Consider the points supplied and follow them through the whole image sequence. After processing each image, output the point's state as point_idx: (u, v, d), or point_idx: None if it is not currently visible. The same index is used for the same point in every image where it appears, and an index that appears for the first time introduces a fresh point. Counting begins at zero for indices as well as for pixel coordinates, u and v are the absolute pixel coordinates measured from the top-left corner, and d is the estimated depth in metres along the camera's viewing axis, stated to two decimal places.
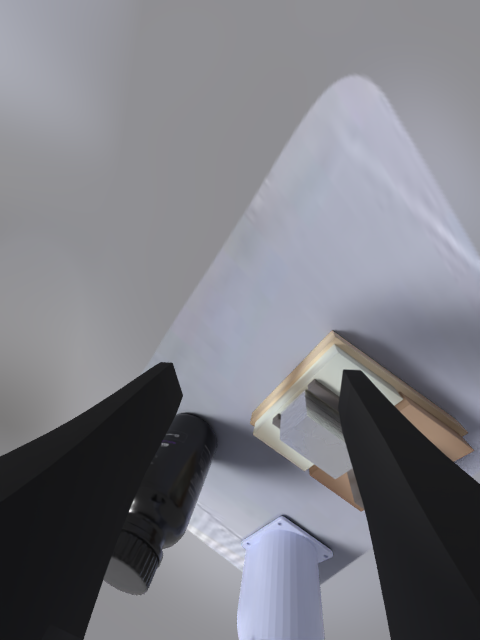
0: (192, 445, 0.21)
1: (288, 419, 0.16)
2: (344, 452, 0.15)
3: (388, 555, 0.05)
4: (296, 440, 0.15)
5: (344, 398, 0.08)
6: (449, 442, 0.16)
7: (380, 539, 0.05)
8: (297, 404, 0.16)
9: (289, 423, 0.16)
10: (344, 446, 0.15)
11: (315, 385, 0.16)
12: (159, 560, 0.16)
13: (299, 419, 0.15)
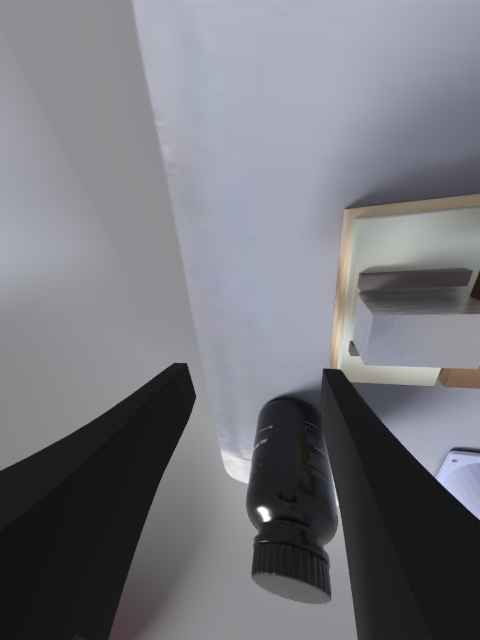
0: (290, 427, 0.19)
1: (360, 337, 0.12)
2: (462, 327, 0.10)
3: (354, 548, 0.05)
4: (385, 353, 0.11)
5: (324, 397, 0.08)
6: None
7: (349, 533, 0.05)
8: (359, 314, 0.12)
9: (363, 340, 0.12)
10: (455, 319, 0.10)
11: (364, 278, 0.12)
12: (324, 559, 0.13)
13: (369, 326, 0.11)
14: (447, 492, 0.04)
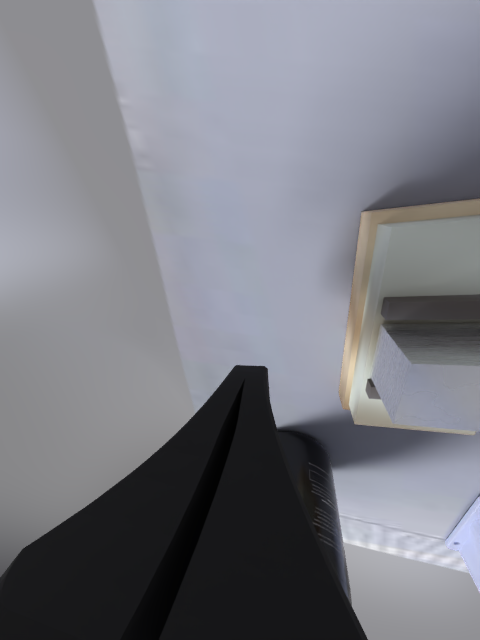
0: None
1: (386, 383, 0.09)
2: None
3: None
4: (423, 411, 0.08)
5: None
6: None
7: None
8: (384, 352, 0.09)
9: (391, 389, 0.09)
10: None
11: (392, 305, 0.09)
12: None
13: (403, 376, 0.08)
14: (285, 469, 0.04)
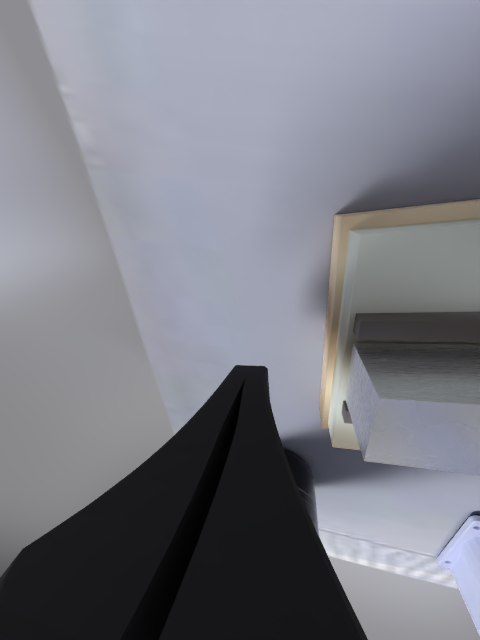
0: None
1: (357, 411, 0.08)
2: None
3: None
4: (397, 449, 0.07)
5: None
6: None
7: None
8: (356, 376, 0.08)
9: (362, 421, 0.07)
10: None
11: (364, 324, 0.08)
12: None
13: (372, 410, 0.07)
14: (285, 469, 0.04)
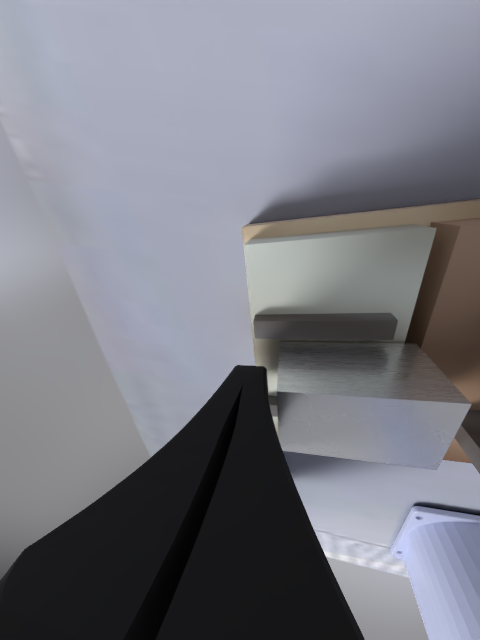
0: None
1: None
2: (408, 416, 0.06)
3: None
4: (303, 439, 0.07)
5: None
6: None
7: None
8: None
9: None
10: (396, 406, 0.06)
11: (257, 324, 0.09)
12: None
13: (277, 402, 0.07)
14: (283, 469, 0.04)
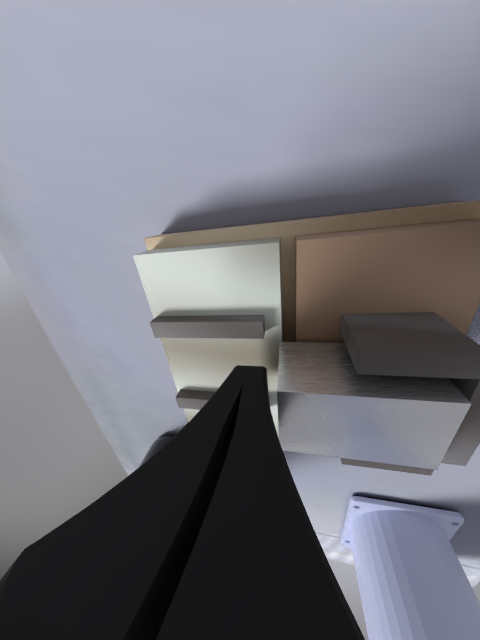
0: None
1: None
2: (408, 416, 0.06)
3: None
4: (303, 439, 0.07)
5: None
6: (440, 248, 0.07)
7: None
8: None
9: None
10: (396, 405, 0.06)
11: (154, 325, 0.10)
12: None
13: (277, 402, 0.07)
14: (284, 469, 0.04)
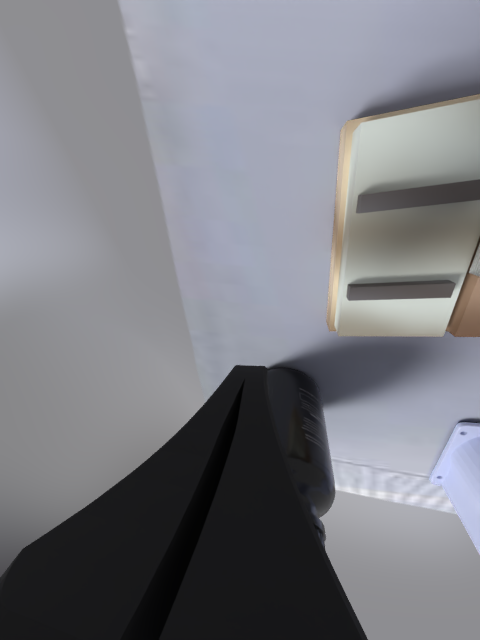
0: (283, 393, 0.17)
1: None
2: None
3: None
4: None
5: None
6: None
7: None
8: None
9: None
10: None
11: (364, 198, 0.10)
12: (319, 528, 0.12)
13: None
14: (285, 469, 0.04)
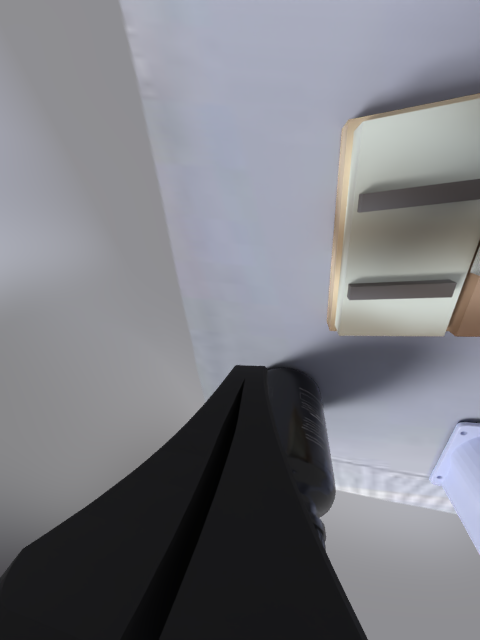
0: (283, 393, 0.17)
1: None
2: None
3: None
4: None
5: None
6: None
7: None
8: None
9: None
10: None
11: (365, 197, 0.10)
12: (320, 527, 0.12)
13: None
14: (285, 469, 0.04)
